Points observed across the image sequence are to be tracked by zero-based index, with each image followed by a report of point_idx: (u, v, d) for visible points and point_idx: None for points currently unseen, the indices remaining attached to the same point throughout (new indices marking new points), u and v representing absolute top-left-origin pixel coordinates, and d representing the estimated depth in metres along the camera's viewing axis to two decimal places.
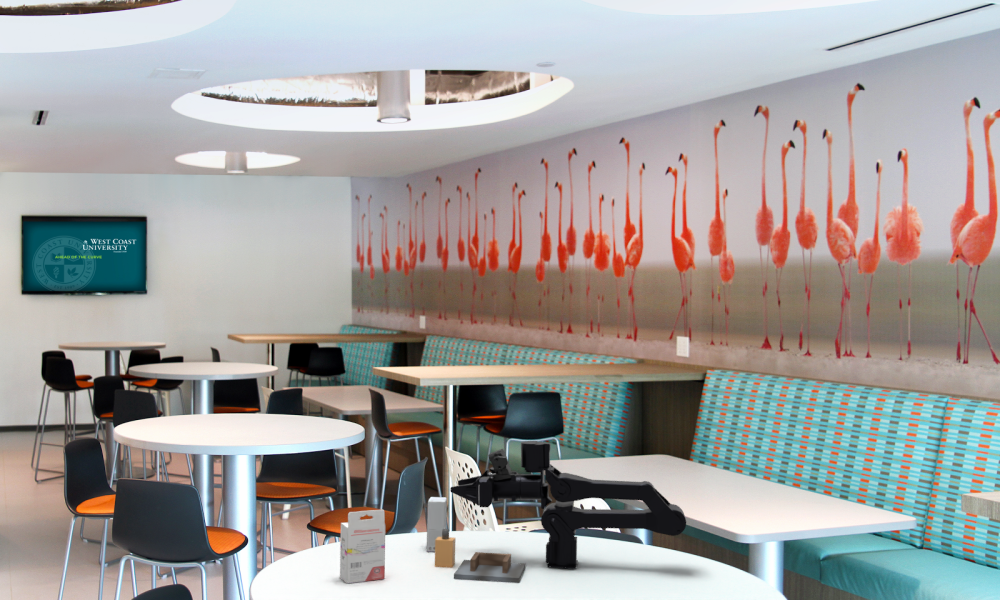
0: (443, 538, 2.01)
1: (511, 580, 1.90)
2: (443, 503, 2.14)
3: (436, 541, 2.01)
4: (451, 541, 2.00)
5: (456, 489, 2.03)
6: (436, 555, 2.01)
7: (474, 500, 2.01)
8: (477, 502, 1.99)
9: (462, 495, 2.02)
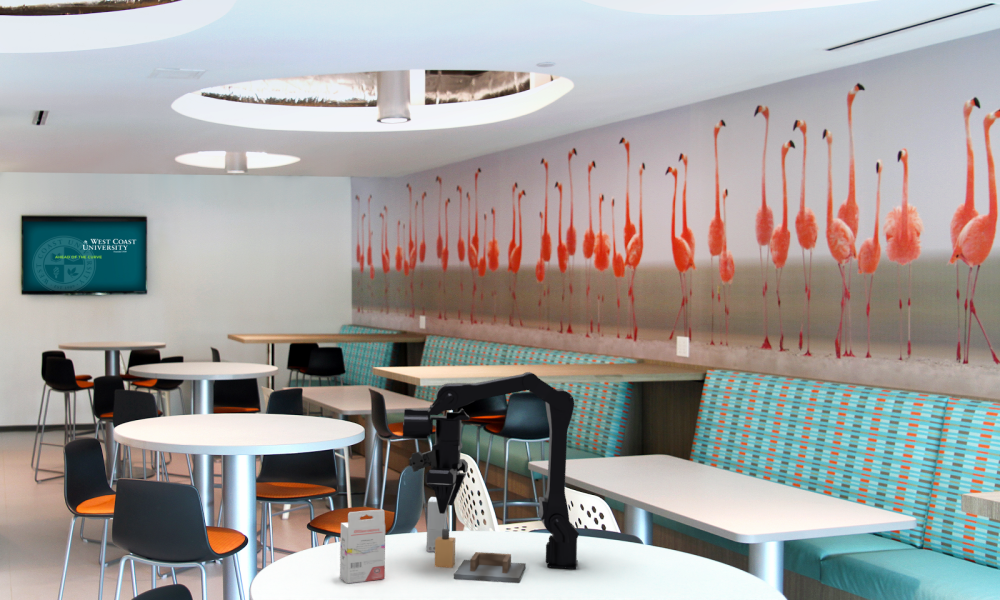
0: (443, 538, 2.01)
1: (511, 580, 1.90)
2: None
3: (436, 541, 2.01)
4: (451, 541, 2.00)
5: (440, 507, 1.97)
6: (436, 555, 2.01)
7: (450, 489, 1.96)
8: (449, 486, 1.94)
9: (446, 501, 1.97)
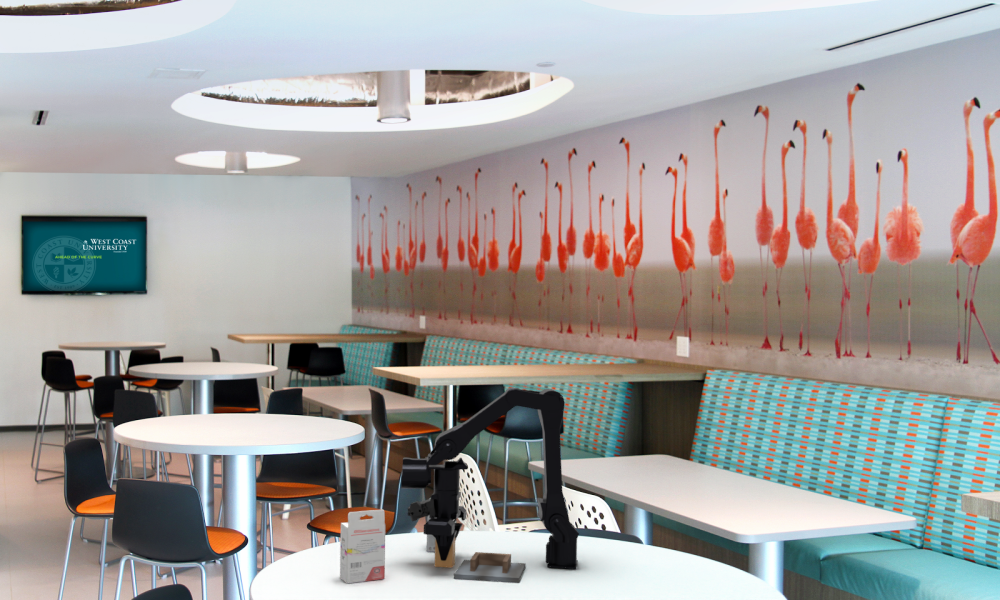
0: None
1: (511, 580, 1.90)
2: None
3: (436, 541, 2.01)
4: None
5: (442, 554, 2.00)
6: (436, 555, 2.01)
7: (451, 536, 1.98)
8: None
9: (447, 548, 1.99)
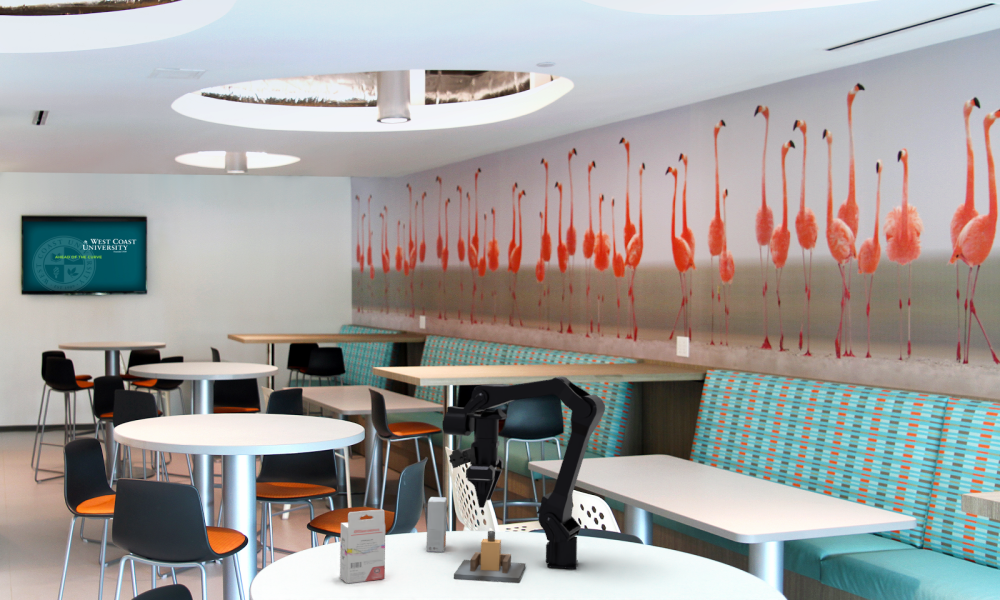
0: (489, 540, 1.96)
1: (511, 580, 1.90)
2: (443, 503, 2.14)
3: (482, 543, 1.95)
4: (498, 543, 1.95)
5: (480, 501, 2.07)
6: (482, 558, 1.95)
7: (489, 484, 2.05)
8: (489, 481, 2.04)
9: (485, 496, 2.06)
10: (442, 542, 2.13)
